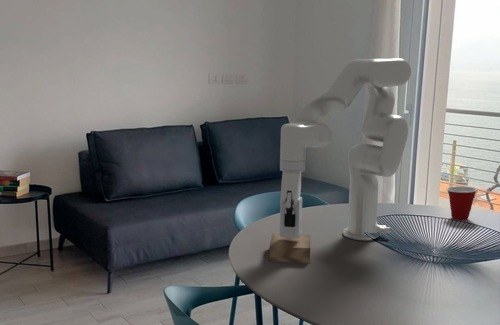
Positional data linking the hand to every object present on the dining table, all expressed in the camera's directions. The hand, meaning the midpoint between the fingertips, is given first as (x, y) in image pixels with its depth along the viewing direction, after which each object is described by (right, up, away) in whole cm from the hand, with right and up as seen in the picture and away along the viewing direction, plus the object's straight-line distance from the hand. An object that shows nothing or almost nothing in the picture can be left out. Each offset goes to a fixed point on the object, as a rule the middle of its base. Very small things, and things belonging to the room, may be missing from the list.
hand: (291, 223), depth 165 cm
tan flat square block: (0, -10, +2) cm, 10 cm away
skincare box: (0, -4, +1) cm, 4 cm away
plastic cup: (+68, -3, +43) cm, 80 cm away
